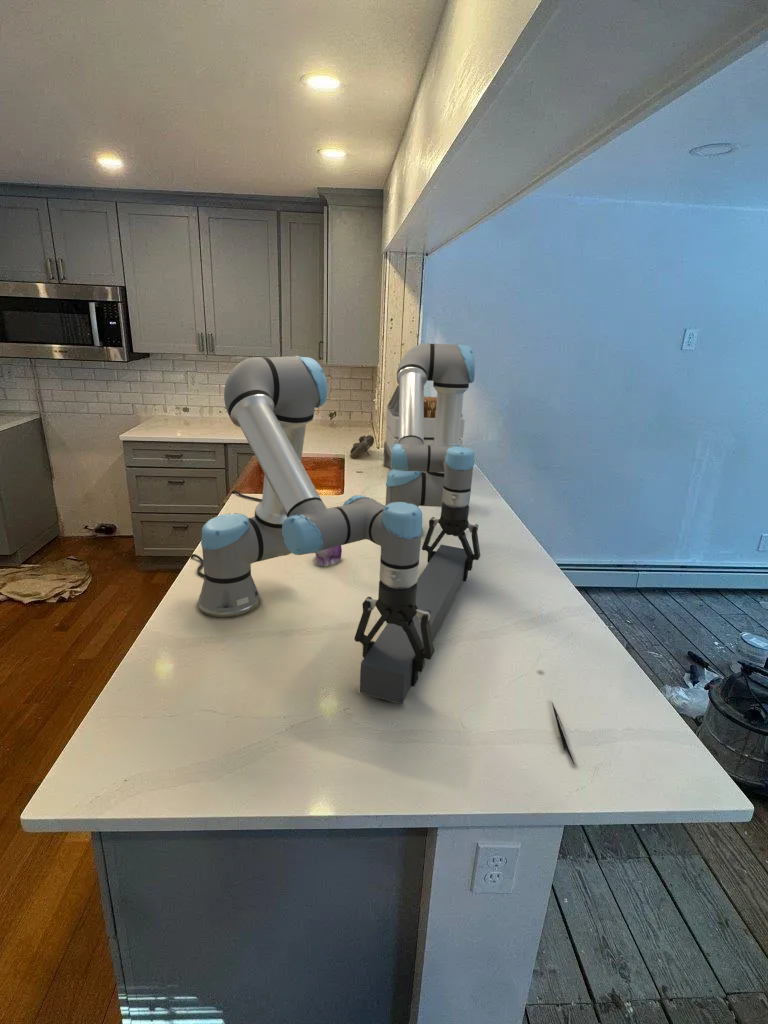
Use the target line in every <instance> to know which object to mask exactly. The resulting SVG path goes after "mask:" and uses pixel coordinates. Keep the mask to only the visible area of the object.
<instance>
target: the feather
mask: <svg viewBox="0 0 768 1024" xmlns="http://www.w3.org/2000/svg"><path fill="white" fill-rule="evenodd" d="M540 673H542V670H540ZM551 705H552V709H553V713H554V716H555V721H556V725H557V728H558V732H559V737H560V740H561V742H562V745H563V750H564V751H566V752H567V754H568V755H569V757H570V760H571V762H572V764H573V765H574V764H575V762H574V760H573V759H574V758H573V757H572V754H573V755H574V752H572V753H571V751H570V748H571V750H573V748H574V747H572V746H571V747H570V748H569V745H568V743H570V740H569V738H568V734H567V731H566V730H565V727H564V725H563V723H562V721H561V718H560V716H559V714H558V712H557V710H556V707H555V704H554V703H553V702H551ZM565 736H566V737H565ZM567 742H568V743H567Z"/></svg>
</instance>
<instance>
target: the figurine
mask: <svg viewBox="0 0 768 1024" xmlns="http://www.w3.org/2000/svg"><path fill="white" fill-rule="evenodd" d="M342 553H343V549H342V545H339V546H335V547H332V548H328V549H324V550H321V551H319V552H317V553H315V558H314V561H315V565H316V566H319V567H320V566H321V567H328V566H334V565H336V564H338V563H340V562H341V559H342Z"/></svg>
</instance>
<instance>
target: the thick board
mask: <svg viewBox="0 0 768 1024" xmlns="http://www.w3.org/2000/svg"><path fill="white" fill-rule="evenodd" d="M435 551H436V553H435V554H434V555H433V557H432V558H431V560H430V561H429V563H428V562H427V564H426V566H425V567H424V568H423V570H422V572H421V573H420V575H418V581H417V595H416V606H417V608H418V609H419V610H422V611H426V610H430V611H431V616H430V620H429V621H430V627H431V632H432V638H433V643H434V642H435V640H436V638H437V636H438V634H439V632H440V630H441V628H442V626H443V624H444V623H445V619H446V618H447V616H448V614H449V612H450V610H451V608H452V605H453V603H454V602H455V600H456V598H457V596H458V593H459V592H460V590H461V587H462V586H463V584H464V583H465V582H464V581H463V577H464V568H465V560H466V558H467V556H466V553H465V551H464V548H463V547H457V546H451V545H447V544H440V545H439V546H438V548H437V550H435ZM468 572H470V571H469V570H468ZM413 620H414V625H415V628H416V630H417V632H418V634H419V637H420V639H421V641H422V644H423V638H422V633H421V622H419V620H418V617H417V616H416V615H415V616H414V617H413ZM374 642H375V643H374V644H373V646H372V647H371V649H370V650H369V652H368V653H367V655H366V656H365V658H363V659H362V661H361V662H360V671H359V672H360V673H359V693H360V694H363V695H367V696H371V697H374V698H378V699H380V700H381V699H382V700H385V701H389V702H392V703H396V704H399V705H404V702H405V700H406V699H407V696H408V694H409V692H410V691H411V688H412V686H411V678H412V665H413V658H414V656H415V652H414V650H413V648H412V646H411V643H410V641H409V639H408V636H407V634H406V632H405V631H404V630H403V628H402V626H398V625H396V624H389V623H386V625H385V627H384V628H383V629H382V631H381V632H380V634H379V635H378V637H377V639H376V640H375V641H374ZM423 646H424V644H423Z"/></svg>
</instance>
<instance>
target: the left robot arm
mask: <svg viewBox="0 0 768 1024" xmlns="http://www.w3.org/2000/svg"><path fill="white" fill-rule="evenodd" d="M327 397H328V382H327V377H326V374H325V372H324V370H323V368H322V366H321V365H320V364H319V362H318V361H317V360H316V359H314V358H313V357H309V356H299V355H293V356H270V357H269V356H267V357H266V356H265V357H264V356H263V357H261V356H253V357H249V358H245V359H244V360H242V361H241V362H239V363H238V364H236V365H235V366H234V367H233V368H232V370H231V371H230V373H229V374H228V377H227V378H226V382H225V384H224V389H223V400H224V406H225V410H226V412H227V415H228V416H229V418H230V420H231V422H232V424H233V425H234V426H236V427H238V428H240V430H241V431H242V433H243V435H244V437H245V439H246V441H247V443H248V445H249V446H250V449H251V451H252V452H253V454H254V456H255V458H256V460H257V462H258V465H259V466H260V468H261V470H262V472H263V474H264V478H263V487H262V498H261V499H262V501H259V502H258V503H257V504H256V506H255V508H254V516H251V517H248V516H246V515H245V514H244V513H243V514H242V513H238V512H236V513H225V514H220V515H217V516H215V517H212V518H210V519H209V520H208V521H206V522H205V523H204V525H203V526H202V528H201V540H200V545H201V551H202V557H201V556H200V555H198V554H196V553H193V554H191V555H190V558H196V559H198V560H199V561H200V565H198V567H197V569H196V572H197V574H198V575H199V576H202V577H203V582H202V586H201V591H200V594H199V596H198V608H199V610H200V611H201V612H202V613H203V614H205V615H207V616H210V617H214V618H235V617H239V616H242V615H246V614H248V613H250V612H252V611H253V610H254V609H257V607H258V605H259V604H260V594H259V590H258V588H257V586H256V583H255V581H254V578H253V576H252V567H251V565H252V564H255V563H259V562H263V561H266V560H270V559H274V558H279V557H282V556H284V557H285V556H288V555H291V554H292V555H295V556H302V555H309V554H316V553H317V552H319V551H321V550H324V549H328V548H332V547H335V546H339V545H341V546H343V545H348V544H352V543H357V542H361V541H365V540H368V541H370V542H372V543H374V544H375V545H377V546H379V547H380V559H379V561H380V562H379V581H378V594H377V595H378V596H377V597H378V598H377V599H373V598H372V597H371V596H367V597H366V598H365V599H364V601H363V602H362V603H361V605H362V614H361V617H360V618H359V619H360V620H359V622H358V626H357V629H356V633H355V635H354V638H353V639H354V641H355V642H356V643H360V644H361V645H362V654H361V655H362V658H363V659H364V658H365V656H366V655H367V653H368V652H369V650H370V649H371V647H372V646H373V644H374V643H375V641H373V639H374V637H376V635H377V633H378V632H379V631H380V629H381V628H382V627H383V625H384V624H385V622H386V624H388V623H389V624H396V625H398V626H402V628H403V630H404V631H405V632H406V634H407V636H408V639H409V641H410V643H411V646H412V648H413V650H414V652H415V656H414V658H413V665H412V678H411V688H412V687H413V688H415V686H416V684H417V682H418V680H419V673H422V672H423V670H424V668H425V660H426V659H427V660H429V661H430V660H432V658H433V656H434V654H435V645H434V642H433V638H432V632H431V627H430V621H429V620H430V616H431V611H430V610H426V611H422V610H419V609H418V608H417V606H416V595H417V581H418V578H419V570H420V569H419V568H420V556H421V544H422V535H423V531H424V528H423V511H422V509H421V508H420V506H419V507H418V506H416V505H414V504H408V503H406V502H394V503H390V504H388V505H386V506H385V504H383V503H381V502H379V501H376V500H375V499H373V498H372V497H371V498H370V497H368V496H364V495H360V494H356V495H355V494H354V495H352V496H350V497H349V498H348V499H347V500H345V501H344V503H343V504H342V505H340V506H334V507H329V508H328V507H326V505H325V503H324V501H323V500H322V498H321V496H320V494H319V493H318V491H317V488H316V487H315V485H314V483H313V481H312V480H311V477H310V475H308V472H307V470H306V469H305V466H304V464H303V463H302V459H303V458H302V457H303V450H304V445H305V443H304V442H305V435H306V429H307V428H306V427H307V424H309V423H311V422H312V421H313V420H314V417H315V416H314V415H315V410H316V408H317V409H318V408H320V407H322V406H323V405H324V404H325V403H326V401H327ZM202 567H203V572H201V568H202ZM375 608H376V609H377V611H378V612H379V614H380V617H379V619H378V620H377V621H376V622H375V624H374V626H372V628H371V630H369V632H368V634H367V635H366V634H365V633H366V630H367V626H368V624H369V620H370V617H371V614H372V611H374V609H375ZM415 615H416V616H417V617H418V620H419V622H421V633H422V638H423V644H424V646H423V644H422V641H421V639H420V637H419V634H418V632H417V630H416V628H415V625H414V620H413V617H414V616H415Z"/></svg>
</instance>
